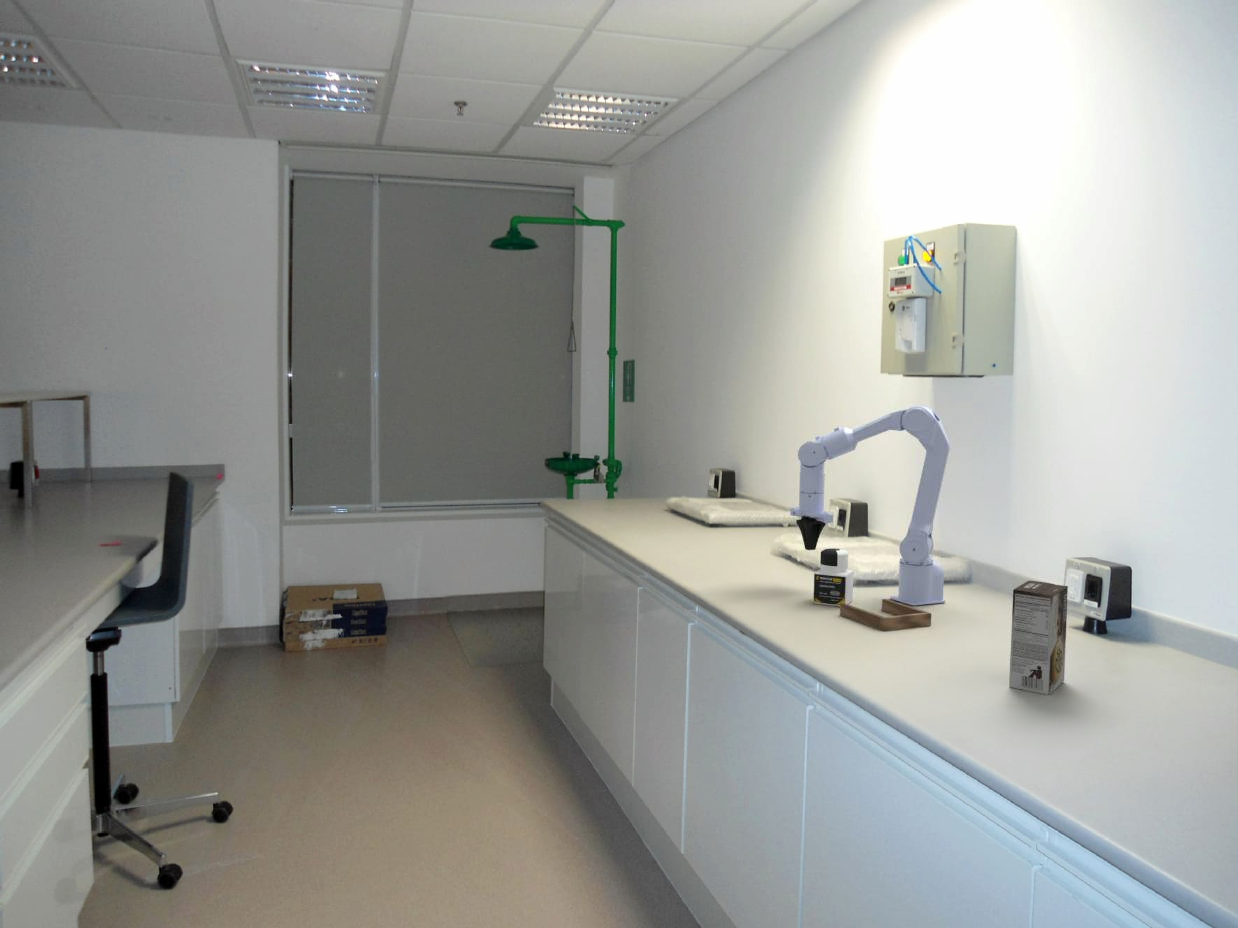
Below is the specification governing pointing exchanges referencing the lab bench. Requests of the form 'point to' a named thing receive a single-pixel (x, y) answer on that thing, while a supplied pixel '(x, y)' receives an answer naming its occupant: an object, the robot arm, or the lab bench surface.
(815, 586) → the medicine bottle
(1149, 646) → the lab bench surface
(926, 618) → the frame
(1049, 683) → the coffee box
